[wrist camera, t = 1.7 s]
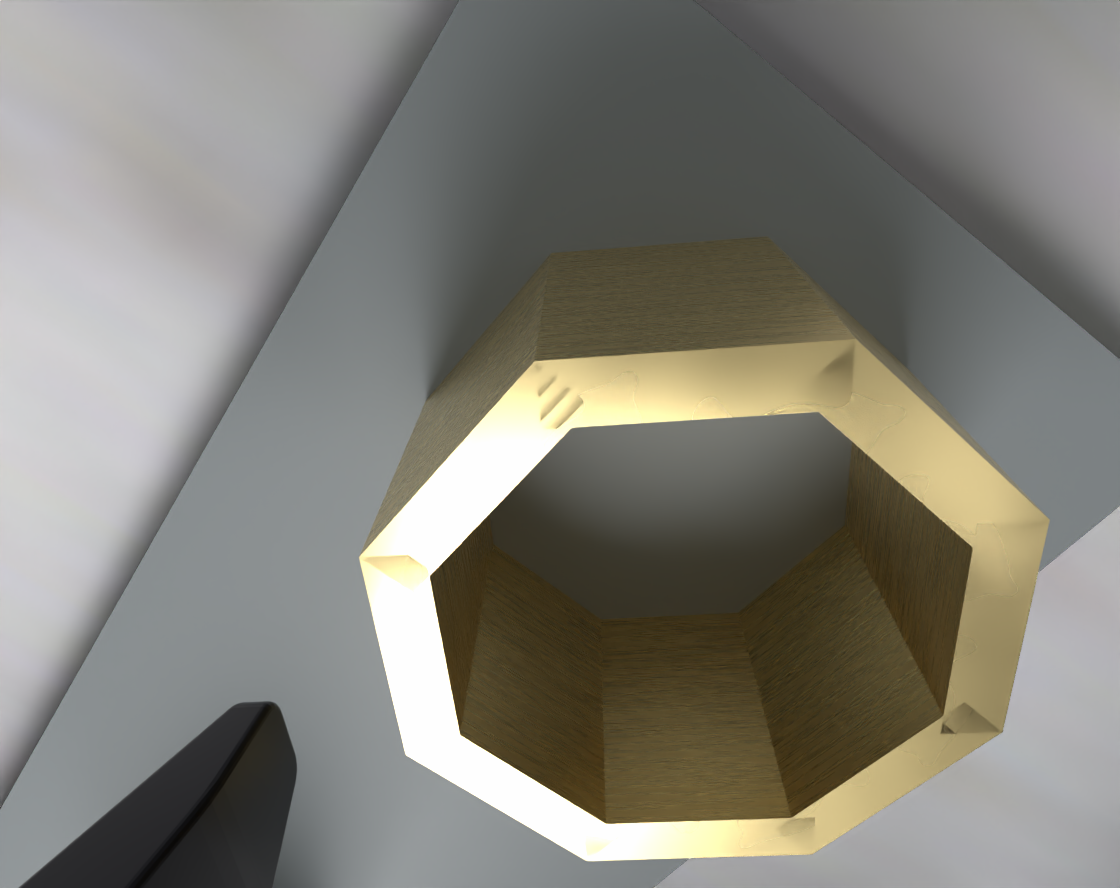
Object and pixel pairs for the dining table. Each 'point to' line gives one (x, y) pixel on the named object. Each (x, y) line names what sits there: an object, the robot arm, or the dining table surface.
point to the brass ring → (708, 639)
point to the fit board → (578, 457)
